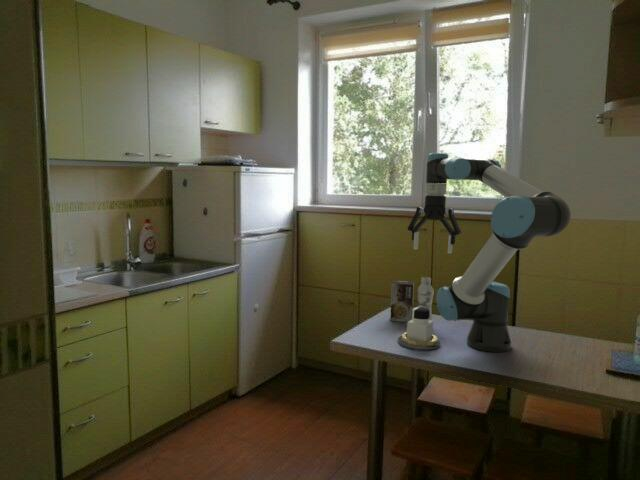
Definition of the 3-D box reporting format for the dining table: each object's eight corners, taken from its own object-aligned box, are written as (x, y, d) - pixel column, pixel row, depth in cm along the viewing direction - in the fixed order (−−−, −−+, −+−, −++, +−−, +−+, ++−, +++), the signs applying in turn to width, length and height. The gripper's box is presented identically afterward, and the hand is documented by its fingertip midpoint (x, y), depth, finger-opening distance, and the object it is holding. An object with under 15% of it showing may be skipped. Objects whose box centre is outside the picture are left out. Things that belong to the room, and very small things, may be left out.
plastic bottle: (414, 324, 200) (416, 276, 197) (431, 325, 199) (434, 276, 196) (415, 328, 194) (417, 279, 191) (432, 330, 193) (435, 280, 190)
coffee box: (412, 318, 208) (414, 281, 206) (411, 322, 202) (414, 284, 200) (391, 316, 210) (392, 279, 208) (389, 320, 204) (391, 282, 202)
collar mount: (436, 337, 184) (437, 331, 183) (443, 351, 169) (443, 344, 168) (396, 335, 185) (396, 329, 184) (399, 349, 170) (399, 342, 170)
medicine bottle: (432, 340, 178) (434, 307, 176) (425, 345, 172) (427, 312, 170) (413, 336, 181) (415, 304, 180) (406, 341, 176) (407, 308, 174)
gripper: (400, 193, 187) (398, 248, 190) (465, 196, 173) (461, 255, 176) (409, 193, 194) (406, 246, 196) (472, 196, 179) (468, 253, 182)
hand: (432, 251), depth 186 cm, fingers open, 13 cm apart
